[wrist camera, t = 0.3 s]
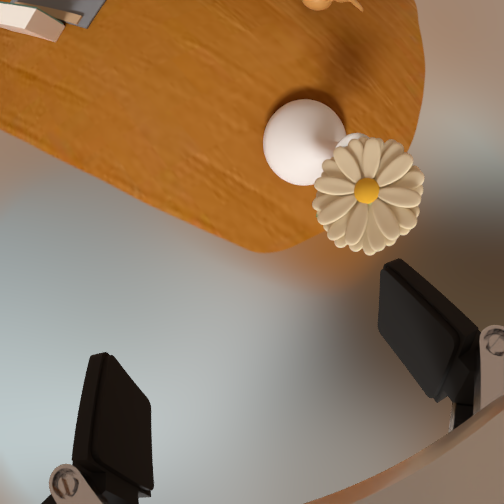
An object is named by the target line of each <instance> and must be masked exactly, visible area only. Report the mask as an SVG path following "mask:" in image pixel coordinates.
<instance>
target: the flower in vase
mask: <svg viewBox="0 0 504 504" xmlns="http://www.w3.org/2000/svg"><path fill="white" fill-rule="evenodd" d="M263 148H264V154H265V157H266V160H267V162H268V164H269V166H270V167H271V169H272V170H273V171H274V172H275V173H276V174H277V175H278V176H279V177H280V178H282V179H283V180H285V181H287V182H289V183H292V184H296V185H312V184H314V187H315V188H316V189H317V190H318V192H317V194H316V198H315V199H314V200H313V202H312V206H313V208H314V209H315V210H317V214H316V217H317V219H318V222H319V223H320V224H322V225H323V226H324V229H325V230H326V231H328V232H327V236H328V238H329V239H330V240H334V242H335V245H336V246H337V247H339V248H342V247H344V246H346V245H347V244H348V245H349V247H350V249H351V250H352V251H356V252H357V251H359V250H361V249H362V248H363V250H364V252H365V254H367V255H373V254H375V253H376V251H381V250H383V249H384V247H385V246H386V245H387V246H390V245H393V244H394V243H395V242H396V239H397V238H398V237H399V235H406V234H408V233H409V231H410V229H412V228H414V227H415V226H416V224H417V217H418V215H419V212H420V210H419V207H418V205H419V204H420V202H421V195H422V193H423V186H422V185H421V184H422V183H423V182H424V174H423V173H422V172H421V171H420V169H419V168H418V167H417V166H412V164H413V157H412V156H411V155H410V154H408V153H407V152H404V147H403V145H402V144H400V143H398V142H396V141H395V140H393V139H390V140H388V141H386V142H385V144H384V142H383V140H382V139H380V138H374V137H371V138H369V137H368V136H366V135H364V134H361V133H352V134H349V135H347V136H346V132H345V129H344V126H343V124H342V122H341V120H340V119H339V117H338V116H337V115H336V113H335V112H334V111H333V110H332V109H331V108H329V107H328V106H326V105H325V104H323V103H321V102H318V101H315V100H310V99H300V100H295V101H292V102H289V103H287V104H285V105H283V106H282V107H281V108H279V109H278V110H277V111H276V112H275V113H274V114H273V115H272V117H271V118H270V120H269V122H268V123H267V126H266V128H265V132H264V138H263Z"/></svg>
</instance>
